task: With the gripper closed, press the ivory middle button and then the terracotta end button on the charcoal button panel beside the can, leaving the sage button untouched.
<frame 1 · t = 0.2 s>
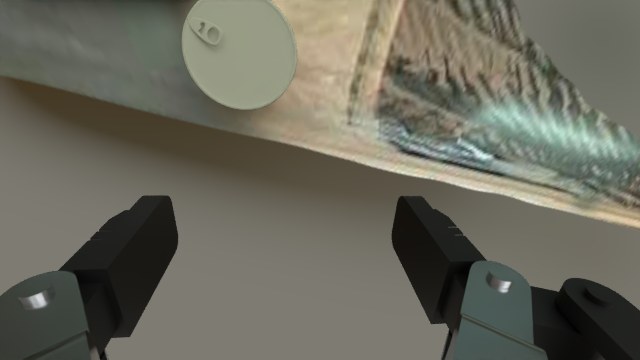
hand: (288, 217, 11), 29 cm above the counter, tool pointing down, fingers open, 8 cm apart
can: (255, 49, 34), on the counter
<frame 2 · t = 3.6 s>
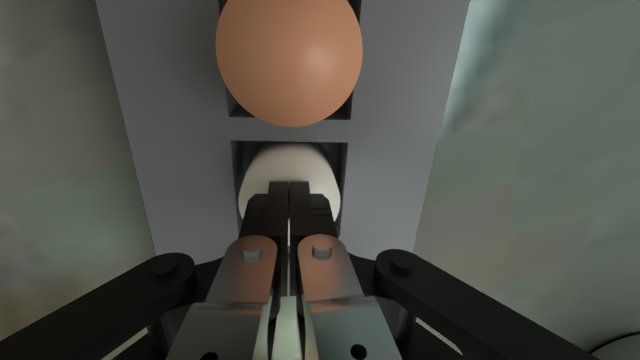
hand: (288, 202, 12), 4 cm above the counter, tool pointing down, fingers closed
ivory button: (290, 187, 13), point 2 cm above the counter, slide at 1.4 cm, touching gripper
button panel: (290, 166, 15), on the counter
sage button: (289, 302, 14), point 4 cm above the counter, slide at 0.0 cm
terracotta button: (290, 53, 9), point 4 cm above the counter, slide at 0.0 cm
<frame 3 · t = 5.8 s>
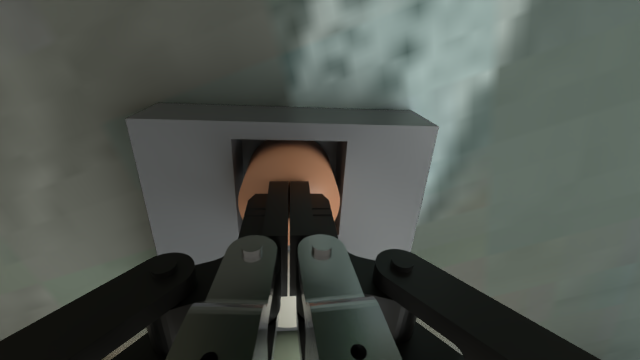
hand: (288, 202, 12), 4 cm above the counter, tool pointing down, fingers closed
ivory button: (289, 276, 16), point 2 cm above the counter, slide at 1.6 cm
button panel: (289, 249, 18), on the counter
terracotta button: (290, 187, 13), point 3 cm above the counter, slide at 1.2 cm, touching gripper
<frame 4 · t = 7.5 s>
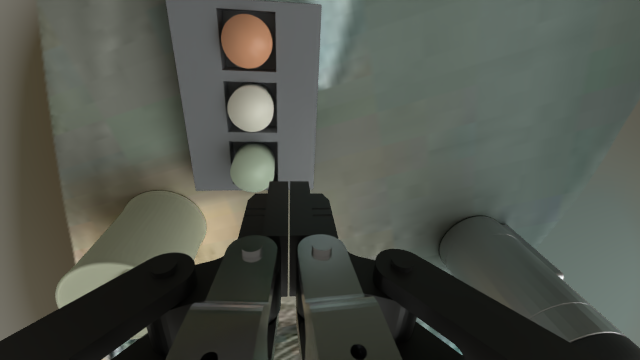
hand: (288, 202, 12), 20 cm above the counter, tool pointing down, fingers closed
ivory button: (252, 106, 27), point 2 cm above the counter, slide at 1.6 cm
button panel: (254, 101, 29), on the counter
sage button: (253, 166, 29), point 4 cm above the counter, slide at 0.0 cm
can: (166, 223, 35), on the counter
terracotta button: (248, 41, 25), point 2 cm above the counter, slide at 1.5 cm
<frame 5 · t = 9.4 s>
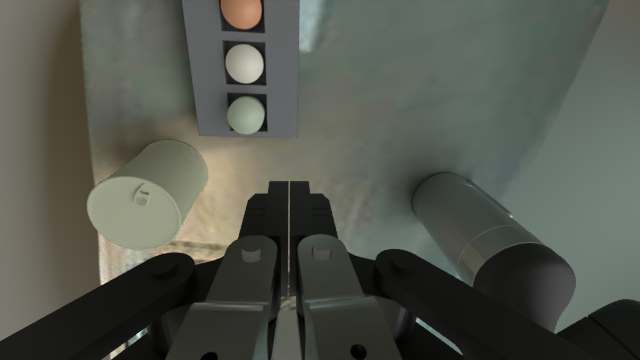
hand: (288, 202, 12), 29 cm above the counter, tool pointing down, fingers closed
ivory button: (246, 63, 34), point 2 cm above the counter, slide at 1.6 cm
button panel: (248, 62, 36), on the counter
sage button: (246, 114, 35), point 4 cm above the counter, slide at 0.0 cm
can: (174, 170, 41), on the counter
terracotta button: (243, 8, 31), point 2 cm above the counter, slide at 1.5 cm
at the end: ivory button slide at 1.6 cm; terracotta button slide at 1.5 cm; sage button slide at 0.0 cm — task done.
